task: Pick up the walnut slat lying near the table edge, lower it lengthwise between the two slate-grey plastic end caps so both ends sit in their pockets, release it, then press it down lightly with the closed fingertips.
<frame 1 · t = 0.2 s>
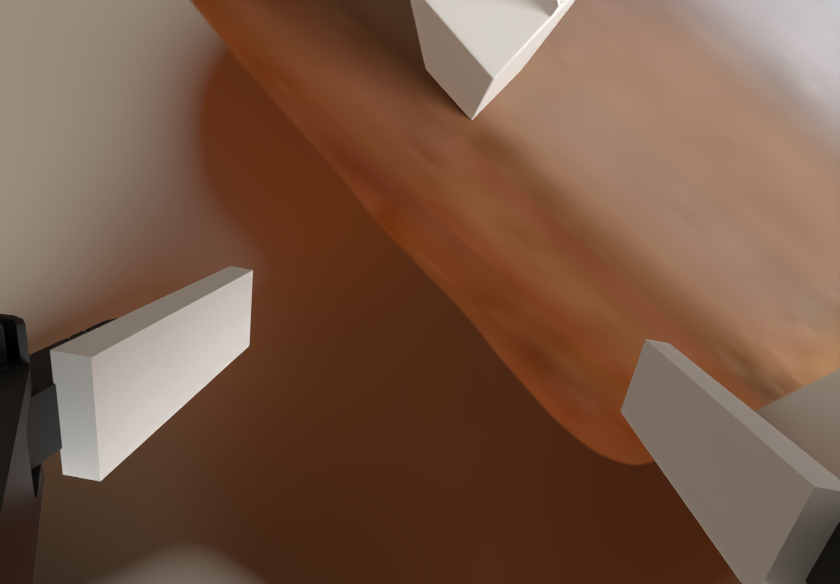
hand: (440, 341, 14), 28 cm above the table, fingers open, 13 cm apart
milk: (473, 69, 37), on the table
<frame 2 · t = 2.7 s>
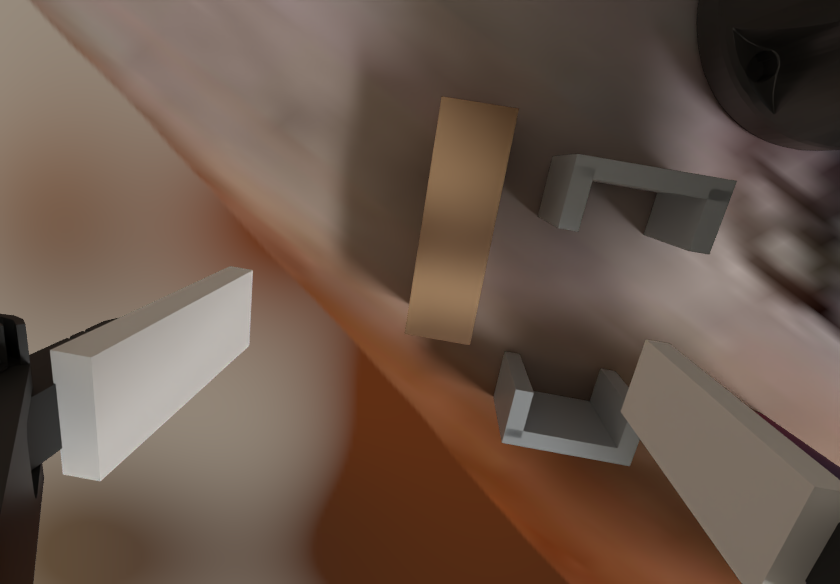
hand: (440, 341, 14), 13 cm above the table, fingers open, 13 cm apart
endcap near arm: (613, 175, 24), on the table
cup: (733, 439, 29), on the table
slat: (455, 218, 26), on the table
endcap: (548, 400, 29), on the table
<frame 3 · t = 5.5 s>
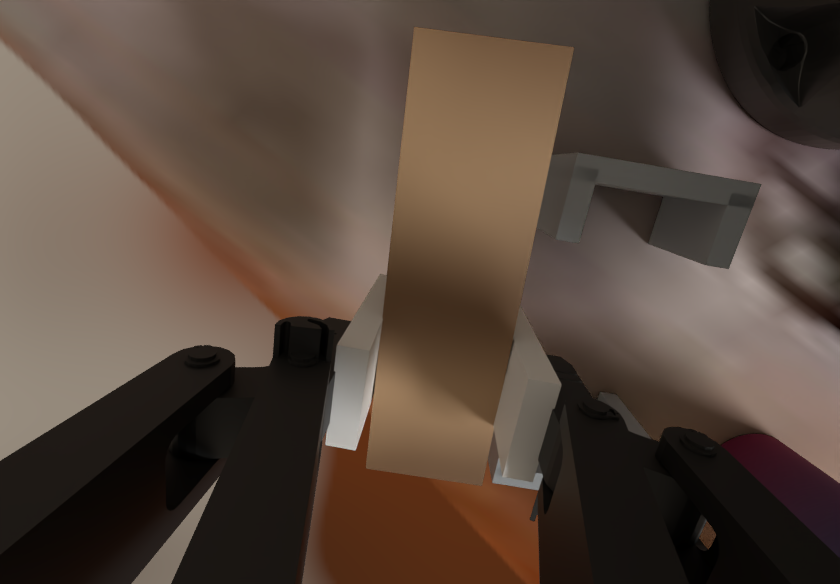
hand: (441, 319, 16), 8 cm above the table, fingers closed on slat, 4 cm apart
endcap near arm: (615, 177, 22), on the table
cup: (744, 465, 26), on the table
slat: (451, 253, 16), point 7 cm above the table, touching gripper
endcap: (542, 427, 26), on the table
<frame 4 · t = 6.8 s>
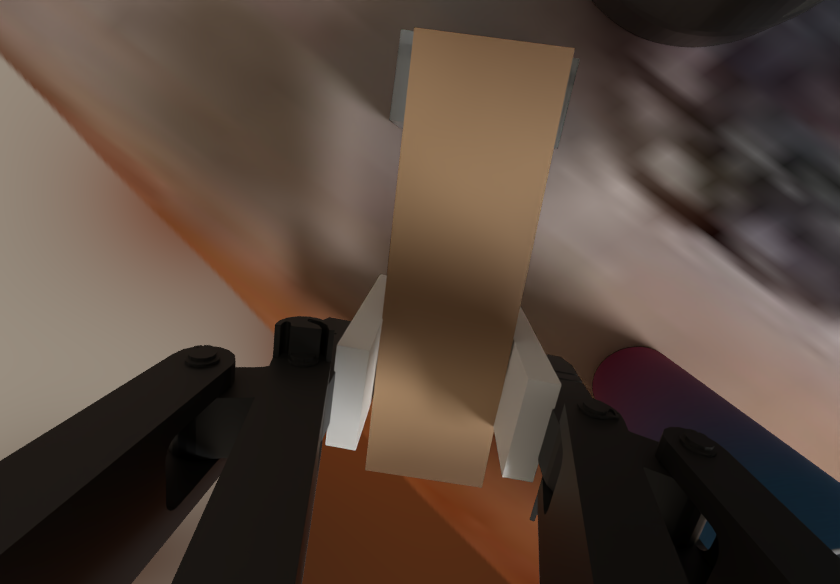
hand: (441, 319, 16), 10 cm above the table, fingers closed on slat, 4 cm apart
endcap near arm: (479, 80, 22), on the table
cup: (631, 381, 27), on the table
slat: (451, 254, 16), point 9 cm above the table, touching gripper
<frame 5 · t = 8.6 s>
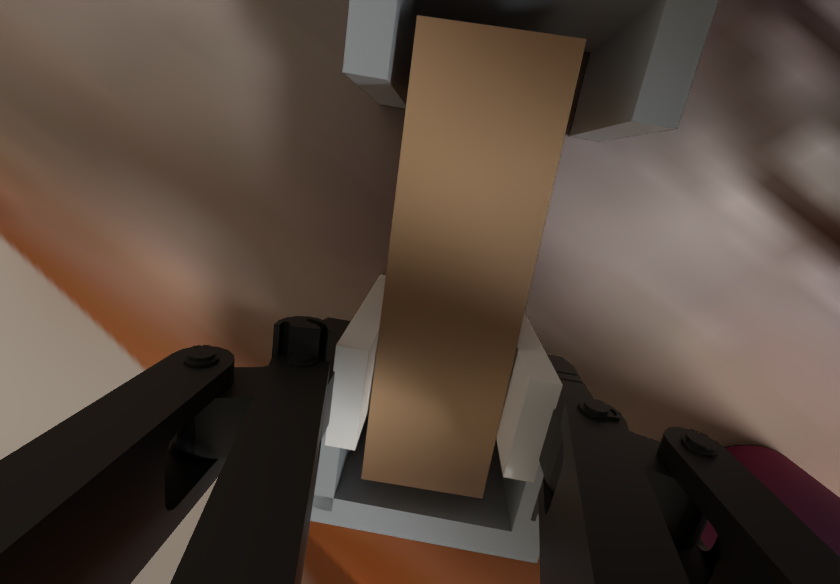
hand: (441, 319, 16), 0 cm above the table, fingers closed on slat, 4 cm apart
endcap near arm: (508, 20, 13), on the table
cup: (732, 492, 18), on the table
slat: (452, 255, 15), on the table, touching gripper
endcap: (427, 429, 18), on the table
when the fingers open (0 cm above the table, at t = 9.9 s): slat stays where it is, on the table.
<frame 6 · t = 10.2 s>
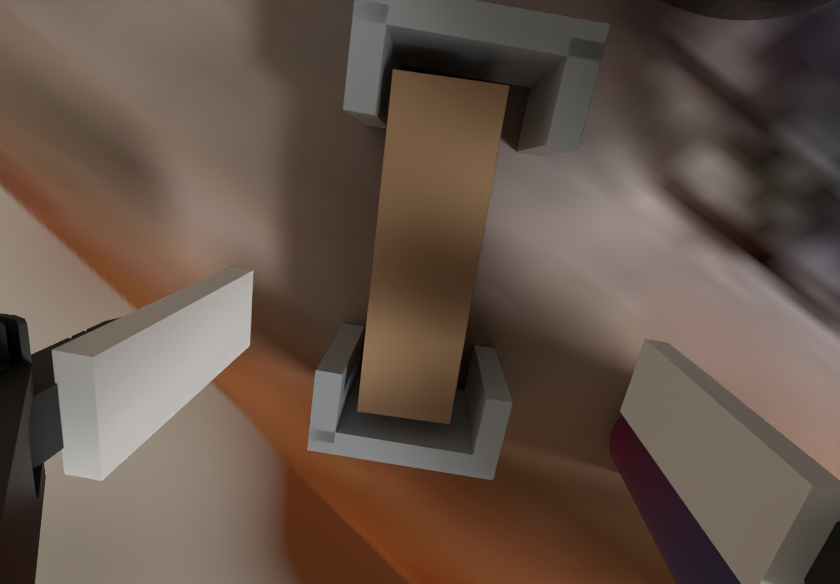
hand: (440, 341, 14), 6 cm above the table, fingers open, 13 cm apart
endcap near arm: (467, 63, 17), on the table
cup: (657, 437, 22), on the table
slat: (427, 243, 19), on the table
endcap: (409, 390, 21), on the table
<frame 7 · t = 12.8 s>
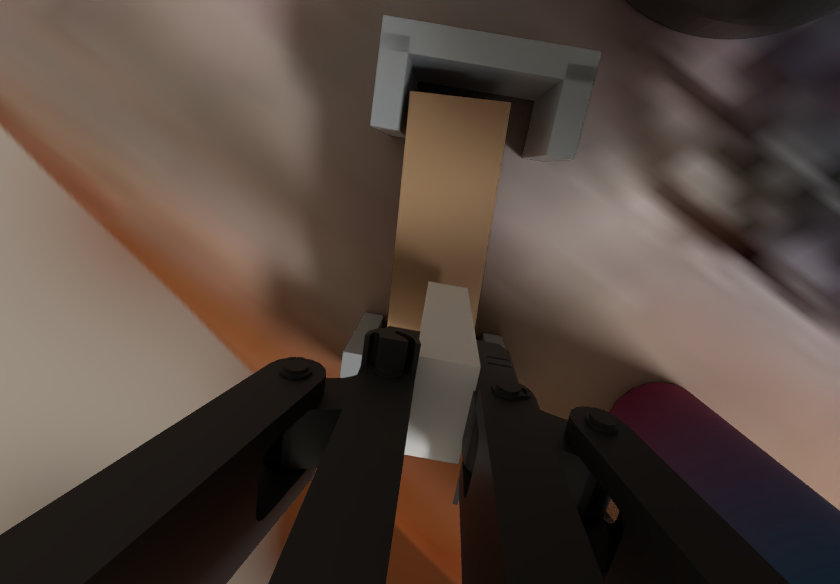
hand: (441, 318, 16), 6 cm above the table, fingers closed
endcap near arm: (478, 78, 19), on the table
cup: (651, 420, 24), on the table
slat: (440, 240, 21), on the table
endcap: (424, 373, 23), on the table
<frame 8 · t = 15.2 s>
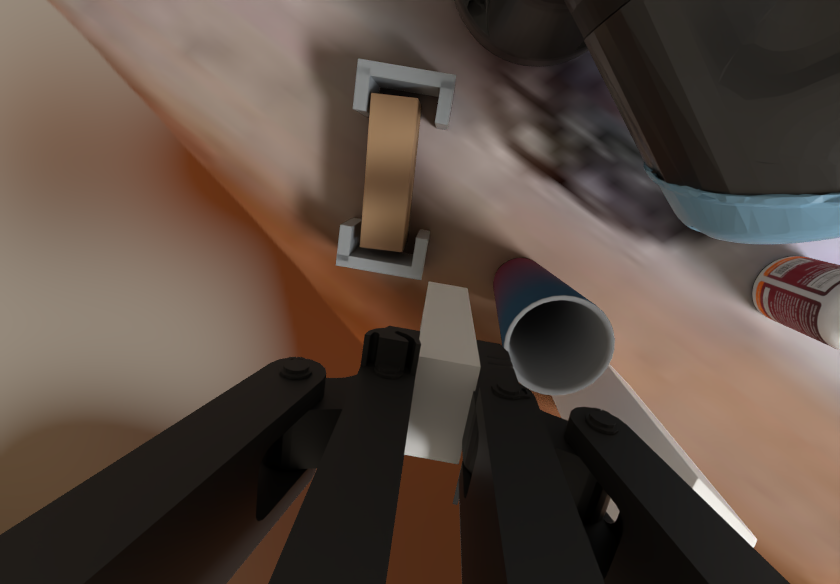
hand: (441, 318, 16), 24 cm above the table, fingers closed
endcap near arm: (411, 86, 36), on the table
cup: (519, 282, 41), on the table
slat: (394, 175, 39), on the table
pill bottle: (782, 286, 39), on the table
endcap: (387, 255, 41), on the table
milk: (585, 380, 43), on the table
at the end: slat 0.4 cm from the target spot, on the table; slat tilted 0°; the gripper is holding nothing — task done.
